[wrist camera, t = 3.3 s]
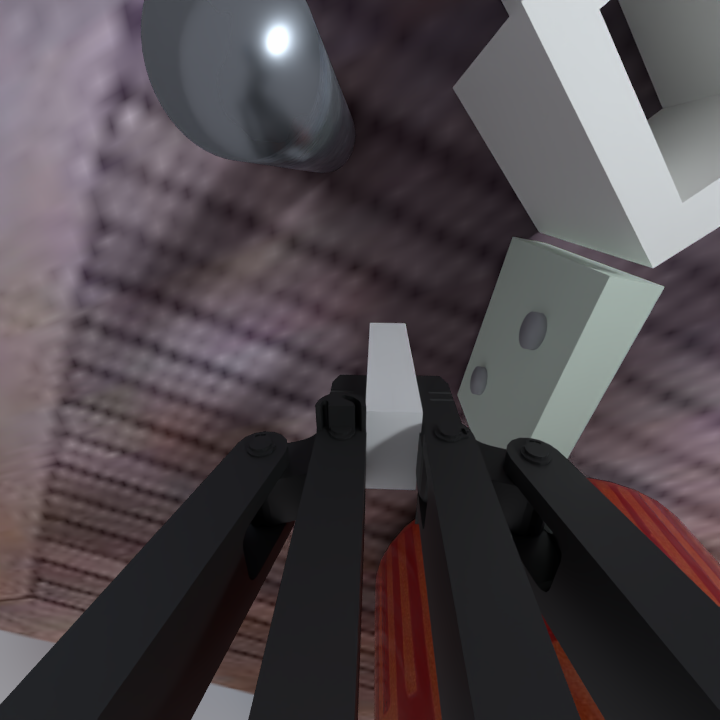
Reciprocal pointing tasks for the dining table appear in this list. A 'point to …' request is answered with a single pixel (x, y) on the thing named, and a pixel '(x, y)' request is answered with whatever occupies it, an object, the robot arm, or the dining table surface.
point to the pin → (248, 81)
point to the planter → (413, 627)
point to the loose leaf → (550, 345)
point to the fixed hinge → (605, 122)
